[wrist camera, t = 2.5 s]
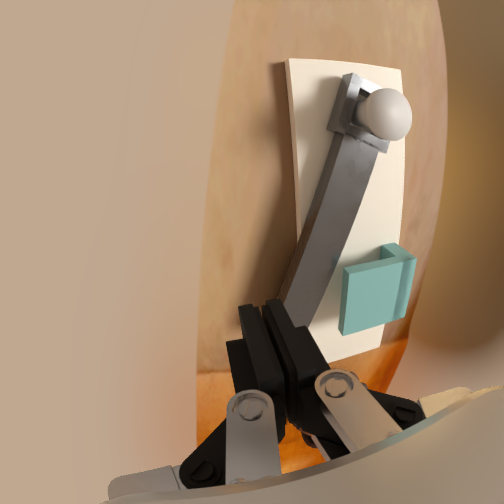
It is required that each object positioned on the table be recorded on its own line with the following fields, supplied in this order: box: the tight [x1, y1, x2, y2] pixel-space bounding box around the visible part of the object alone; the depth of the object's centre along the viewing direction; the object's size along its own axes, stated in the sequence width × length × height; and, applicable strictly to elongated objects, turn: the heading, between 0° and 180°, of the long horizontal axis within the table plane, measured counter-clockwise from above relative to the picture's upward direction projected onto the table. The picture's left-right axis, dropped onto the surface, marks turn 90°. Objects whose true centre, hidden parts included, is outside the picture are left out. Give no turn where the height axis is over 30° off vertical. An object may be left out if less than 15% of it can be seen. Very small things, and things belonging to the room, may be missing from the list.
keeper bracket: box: [338, 242, 417, 336], centre depth 23 cm, size 6×6×3 cm
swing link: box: [277, 73, 390, 328], centre depth 20 cm, size 20×4×2 cm, turn 164°
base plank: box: [284, 59, 412, 363], centre depth 21 cm, size 28×10×5 cm, turn 6°
